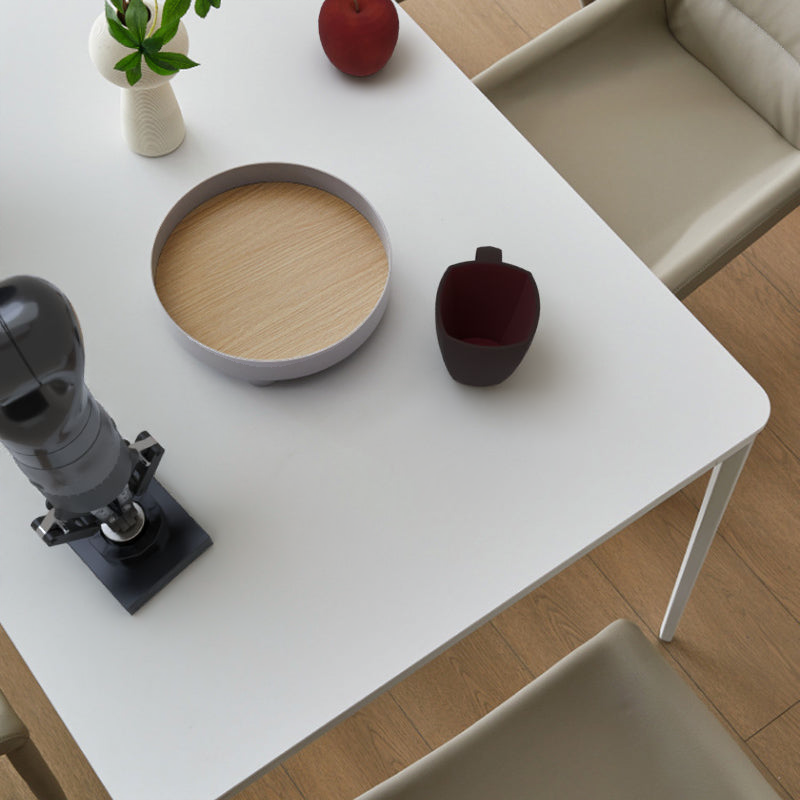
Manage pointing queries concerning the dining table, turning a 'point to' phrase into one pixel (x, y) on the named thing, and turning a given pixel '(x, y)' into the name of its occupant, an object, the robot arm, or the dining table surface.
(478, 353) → the cup
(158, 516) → the control block
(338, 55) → the apple
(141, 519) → the button
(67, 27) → the dining table surface
